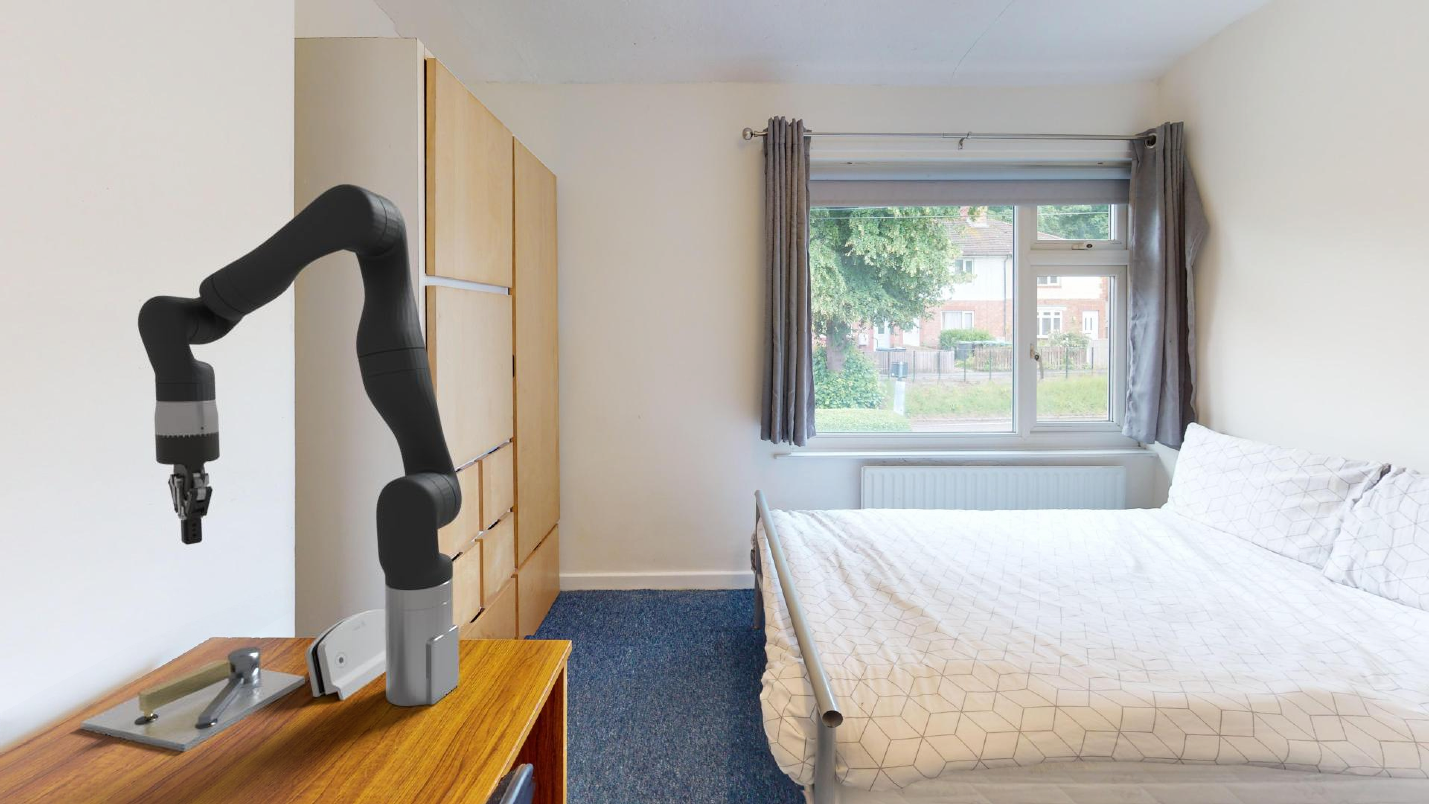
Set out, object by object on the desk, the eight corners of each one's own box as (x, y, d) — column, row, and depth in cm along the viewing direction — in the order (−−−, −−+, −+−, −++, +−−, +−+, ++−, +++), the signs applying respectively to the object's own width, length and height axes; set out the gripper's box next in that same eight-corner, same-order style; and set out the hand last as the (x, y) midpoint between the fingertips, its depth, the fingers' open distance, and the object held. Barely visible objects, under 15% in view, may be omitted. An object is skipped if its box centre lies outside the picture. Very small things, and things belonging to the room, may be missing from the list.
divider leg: (223, 682, 96) (223, 659, 96) (230, 684, 96) (230, 661, 96) (139, 718, 87) (138, 692, 86) (147, 721, 86) (146, 695, 86)
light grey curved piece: (341, 701, 95) (320, 636, 95) (315, 707, 96) (294, 643, 96) (415, 650, 111) (397, 595, 111) (392, 656, 112) (374, 601, 112)
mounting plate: (305, 683, 100) (304, 651, 99) (184, 751, 82) (183, 713, 82) (214, 667, 104) (213, 636, 103) (81, 729, 86) (79, 693, 86)
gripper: (231, 432, 97) (235, 545, 99) (204, 424, 105) (208, 530, 107) (167, 436, 91) (172, 557, 93) (144, 428, 100) (149, 539, 101)
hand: (191, 542), depth 100 cm, fingers closed
